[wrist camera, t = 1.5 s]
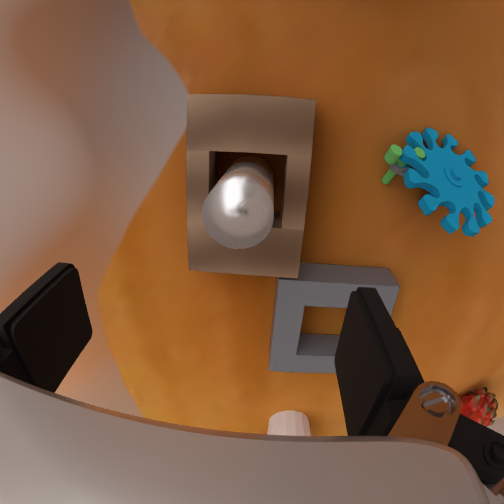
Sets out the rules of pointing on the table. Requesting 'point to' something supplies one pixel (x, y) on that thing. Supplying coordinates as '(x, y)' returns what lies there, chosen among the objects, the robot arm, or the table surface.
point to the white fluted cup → (289, 424)
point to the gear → (442, 180)
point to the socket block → (319, 295)
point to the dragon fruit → (479, 406)
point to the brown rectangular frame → (252, 141)
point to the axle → (241, 204)
